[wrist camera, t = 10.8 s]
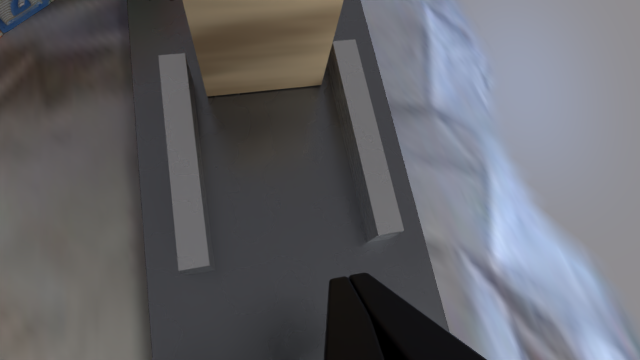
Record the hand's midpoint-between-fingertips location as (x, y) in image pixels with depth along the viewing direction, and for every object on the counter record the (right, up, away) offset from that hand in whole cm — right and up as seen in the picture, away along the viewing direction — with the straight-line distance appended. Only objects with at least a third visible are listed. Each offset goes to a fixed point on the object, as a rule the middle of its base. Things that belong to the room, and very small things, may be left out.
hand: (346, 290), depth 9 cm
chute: (-3, +3, +13) cm, 14 cm away
